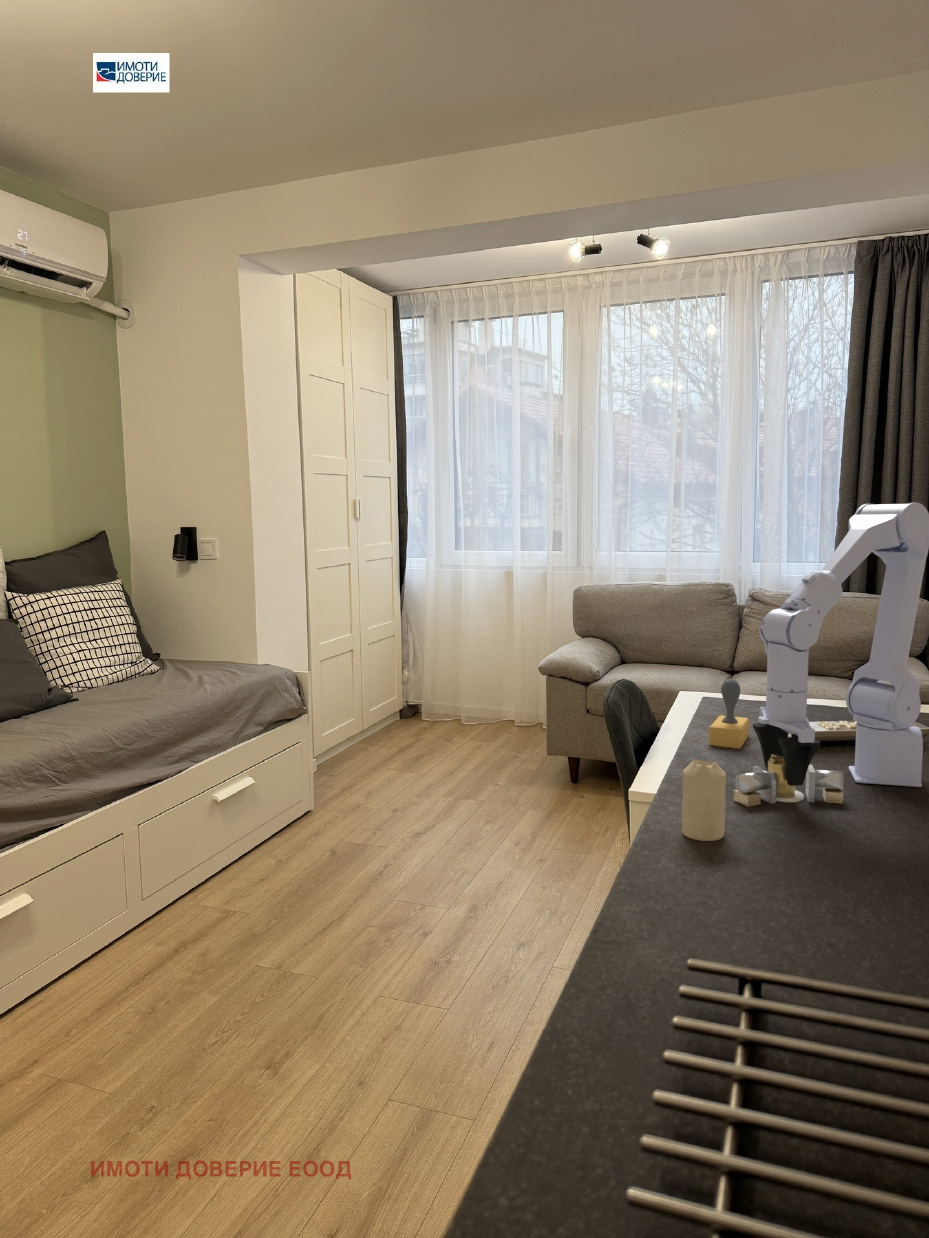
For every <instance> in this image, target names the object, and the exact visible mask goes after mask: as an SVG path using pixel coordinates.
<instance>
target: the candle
mask: <svg viewBox="0 0 929 1238" xmlns="http://www.w3.org/2000/svg"><path fill="white" fill-rule="evenodd" d="M726 782H727V773H726V772H725V771H724V770H723V768H722V767H721V766H720V765H719V764H718V763H717V762H715V761H713V762H707V761H704V760H697V759H693V760H692V761H691V762H690V763H689V764H688V765H687V766H686V767H685V768H684V769H683V771H682V798H681V799H682V802H681V803H682V805H681V810H682V811H681V833H682V835H684V836H685V837H687V838H688V839H691V840H694V841H695V840H696V841H700V842H715V841H719V840H722V839H723V838H724V836H725V824H726V822H725V821H726V819H725V818H726V792H727V791H726V789H727V788H726V786H727V784H726Z"/></svg>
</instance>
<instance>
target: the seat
mask: <svg viewBox="0 0 929 1238" xmlns="http://www.w3.org/2000/svg"><path fill="white" fill-rule="evenodd" d="M804 799H805V794H804V793H803V792H801V791H799V790H796V789H795V796H794V797H792V798H777V797H776V801H775V802H780V803H799V802H802V801H804Z"/></svg>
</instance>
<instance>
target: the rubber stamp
mask: <svg viewBox="0 0 929 1238" xmlns="http://www.w3.org/2000/svg"><path fill="white" fill-rule="evenodd" d="M720 691H721V696H722V699H723V702H724V704H725V708H726V715H719V716H718V717H717V718H716V719H715V720H714V722H713V723H712V724H711V725H710V726H709V727H708V728H709V730H708V734H709V735H708V745H709V746H711V745H714V746H713V747H721V748H722V747H723V748H729V747H731V749H741V748H742V746H743V745H744V743H745V742H746V741H747V738H749V736H750V719H749V717H742V716H741V717H739V716H735V715H734V712H735V709H736V705H737V703H738V702H739V699H740V695H741V686H740V684H739V682H738V681H737V680H735V679H733V678H728V679H726V680H725V681H723V683H722V685H721V690H720Z"/></svg>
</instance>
